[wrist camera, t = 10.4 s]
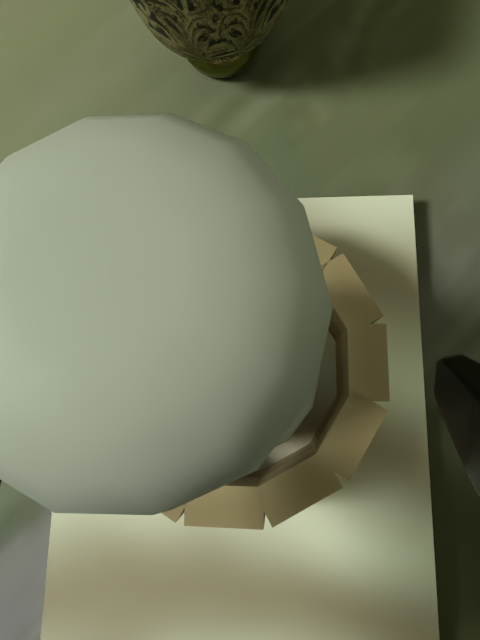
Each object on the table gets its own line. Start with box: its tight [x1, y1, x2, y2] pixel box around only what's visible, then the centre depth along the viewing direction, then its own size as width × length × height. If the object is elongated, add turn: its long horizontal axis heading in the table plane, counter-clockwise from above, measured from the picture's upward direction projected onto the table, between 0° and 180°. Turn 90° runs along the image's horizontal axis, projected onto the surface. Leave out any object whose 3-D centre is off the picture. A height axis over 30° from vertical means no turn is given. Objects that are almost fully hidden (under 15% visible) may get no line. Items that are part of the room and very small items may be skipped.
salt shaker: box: [0, 113, 333, 515], centre depth 10 cm, size 6×6×13 cm
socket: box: [40, 195, 440, 640], centre depth 15 cm, size 18×14×4 cm
